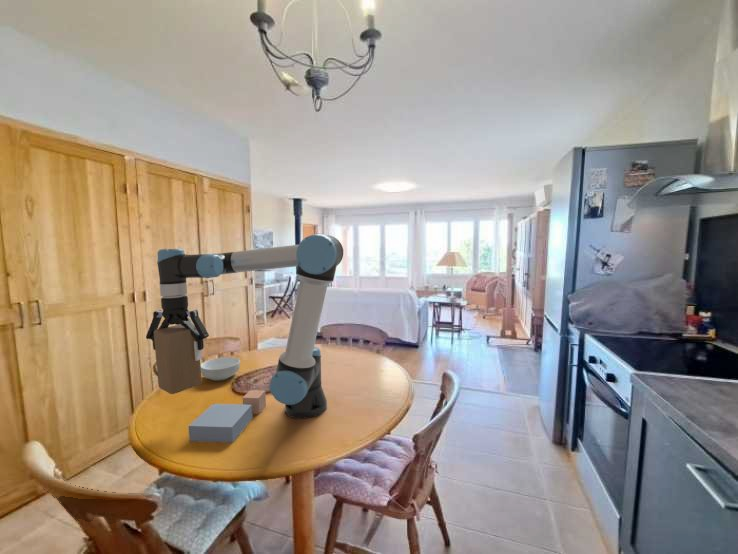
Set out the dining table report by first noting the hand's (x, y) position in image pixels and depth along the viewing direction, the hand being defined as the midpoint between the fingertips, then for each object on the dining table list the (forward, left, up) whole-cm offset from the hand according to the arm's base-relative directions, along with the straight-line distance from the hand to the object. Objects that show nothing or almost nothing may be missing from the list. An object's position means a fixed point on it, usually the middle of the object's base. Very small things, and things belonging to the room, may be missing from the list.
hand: (179, 359), depth 107 cm
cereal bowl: (+8, -39, -23) cm, 46 cm away
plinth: (-15, +2, -23) cm, 27 cm away
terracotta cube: (-20, -11, -23) cm, 32 cm away
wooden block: (0, 0, -9) cm, 9 cm away
